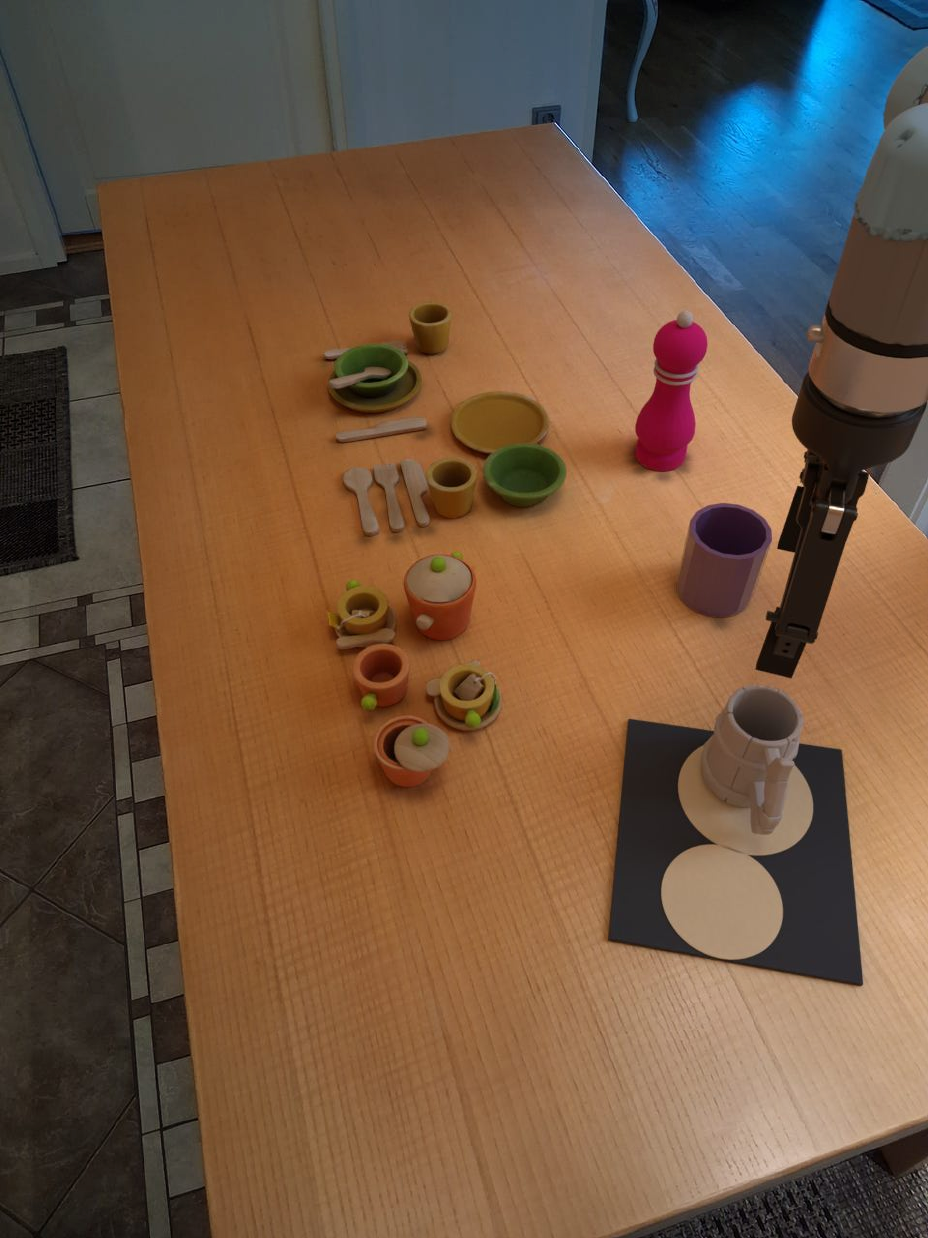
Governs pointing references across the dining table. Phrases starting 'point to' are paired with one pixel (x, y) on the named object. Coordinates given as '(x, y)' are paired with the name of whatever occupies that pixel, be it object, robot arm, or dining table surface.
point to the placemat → (734, 862)
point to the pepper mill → (671, 395)
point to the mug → (754, 753)
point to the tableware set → (478, 422)
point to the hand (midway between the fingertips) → (784, 606)
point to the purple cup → (723, 559)
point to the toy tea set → (383, 669)
